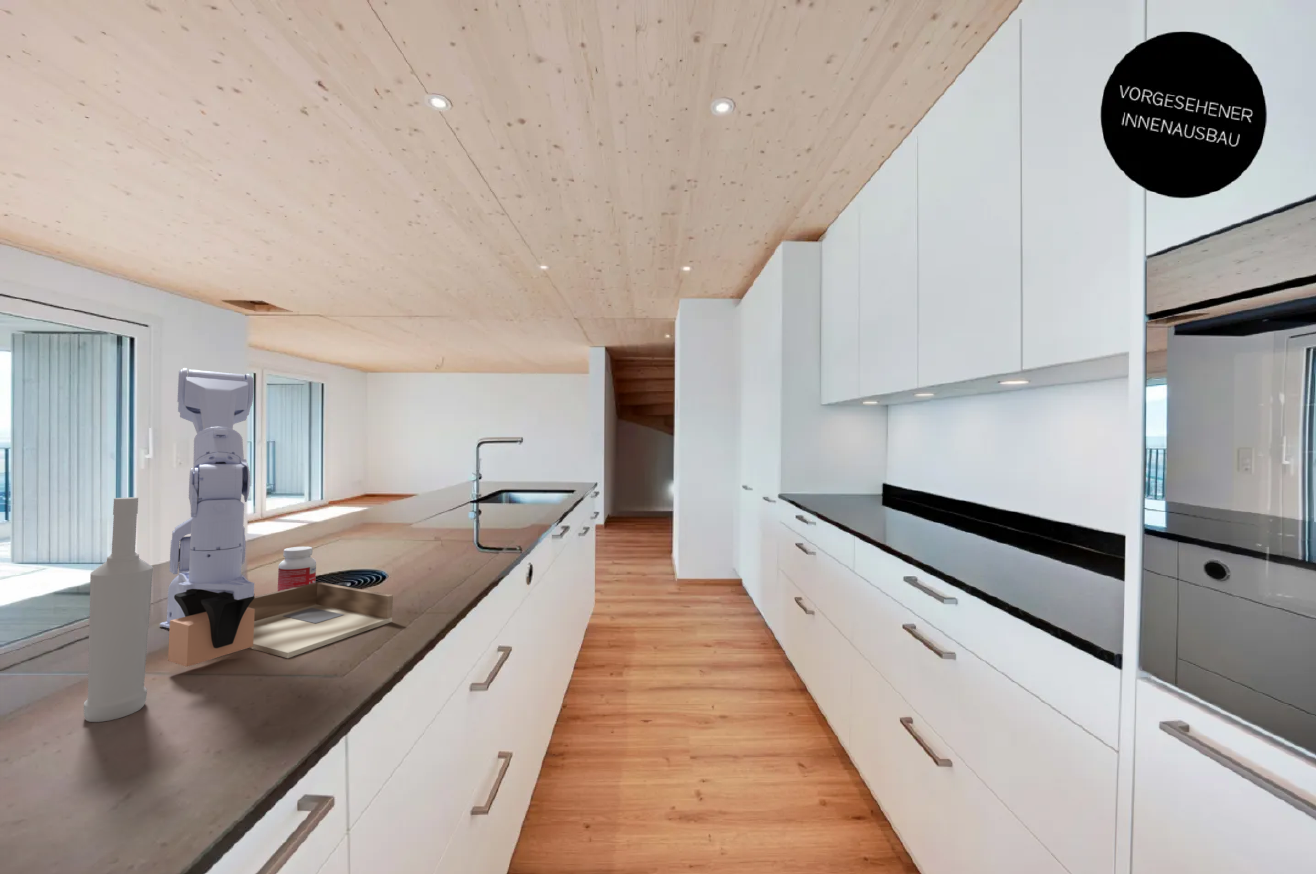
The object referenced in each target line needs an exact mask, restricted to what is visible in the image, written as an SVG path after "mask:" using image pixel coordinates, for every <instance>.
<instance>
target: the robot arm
mask: <svg viewBox="0 0 1316 874" xmlns="http://www.w3.org/2000/svg"><path fill="white" fill-rule="evenodd" d="M177 380H178V383H177V385H178V386H177V401H176V402H177V403H178V405H177V406H178V407H177V412H178V413H179V417H180V419H183V420H186V421H188V422H191V423H192V424H193V426H194V430H195V432H196V435H195V437H194V439H193V467H191V468H190V469H189V478H188V499H189V505H190V518H188V519H186V520H185V521H183V522H182V523H179V524H178V525H177V526H175V527H174V530H172V534H171V540H170V548H169V549H170V552H169V553H170V554H169V572H170V573H171V574H172V575H177V576H175V577H174V579H172V581H171V582H170V584H169V585H168V590H167V608H166V609H167V610H166V621H162V622H159V627H163V628H166V629H169V630H170V620H174V619H178V618H182V617H187V616H191V615H195V614H199V613H203V612H207V615H208V618H209V622H210V628H211V640H212V644H213V647H214V648H220V647H223V646H227V645H230V644H233V641H234V639H235V636H236V633H237V630H238V627H239V624H240V621H241V619H242V617H243V615H244V613H245V611H246V609H247V608H248V606H249V605H250V603H251V602H252V601H253V599H254V597H255V582H253V581H250V580H248V578H246V577H245V575H243V574H242V566H243V565H244V564H245V559H246V549H247V548H246V546H247V545H246V533H245V532H246V531H245V530H246V528H245V526H244V519H245V517H244V515H245V503H247V502H248V501H247V500H248V498H249V496H250V490H251V489H250V487H251V471H250V468H249V464H248V461H247V459H246V458H245V457H244V443H243V442H244V440H243V437H242V434H240V433H239V432H238V431H237V430H235V429H233V428H234V425H235V424H238V423H241V422H244V421H247V417H248V416H249V415H250V411H251V408H252V406H253V400H254V387H255V386H254V385H255V383H254V381H255V380H254V377H253V376H252V375H251V373H250V374H249V373H245V374H243V373H231V372H221V371H212V370H210V371H209V370H199V369H191V368H190V369H188V367H183V368H181V369H180V370H179V371H178V379H177ZM242 496H243V499H244V500H243V501H244V502H242ZM187 535H190V536H187Z"/></svg>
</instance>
